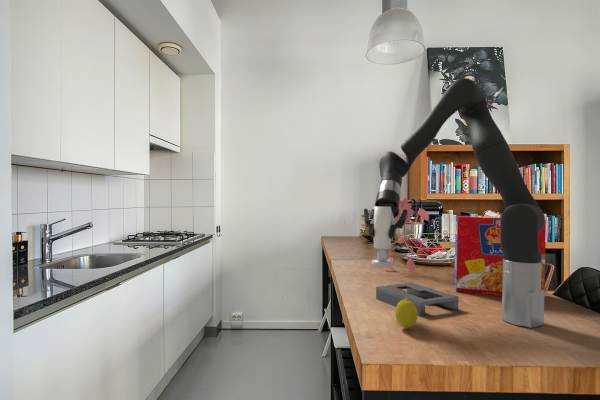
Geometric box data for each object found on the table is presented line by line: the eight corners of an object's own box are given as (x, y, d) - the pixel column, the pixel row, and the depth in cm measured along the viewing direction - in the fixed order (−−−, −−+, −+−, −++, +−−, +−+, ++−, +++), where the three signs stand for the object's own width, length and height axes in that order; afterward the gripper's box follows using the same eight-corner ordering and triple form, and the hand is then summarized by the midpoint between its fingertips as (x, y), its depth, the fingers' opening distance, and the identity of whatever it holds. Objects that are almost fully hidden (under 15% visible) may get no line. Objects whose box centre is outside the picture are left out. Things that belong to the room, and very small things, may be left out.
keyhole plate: (458, 309, 110) (458, 296, 110) (420, 316, 103) (420, 302, 103) (411, 293, 128) (411, 282, 128) (376, 298, 121) (376, 286, 121)
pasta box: (456, 292, 132) (457, 216, 132) (454, 287, 139) (455, 216, 139) (544, 300, 123) (545, 219, 123) (537, 294, 131) (538, 218, 131)
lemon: (400, 323, 97) (401, 294, 97) (420, 328, 93) (421, 298, 93) (391, 329, 93) (392, 298, 93) (412, 334, 89) (412, 302, 89)
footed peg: (396, 266, 107) (397, 207, 107) (380, 268, 104) (381, 206, 104) (383, 263, 112) (383, 206, 112) (367, 264, 109) (368, 206, 110)
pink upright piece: (375, 267, 177) (376, 197, 177) (429, 273, 165) (431, 198, 164) (365, 273, 164) (367, 197, 163) (424, 280, 152) (426, 198, 151)
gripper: (365, 188, 118) (355, 227, 107) (410, 188, 112) (404, 229, 101) (368, 204, 123) (359, 243, 112) (411, 205, 117) (406, 245, 106)
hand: (381, 236), depth 106 cm, fingers closed on footed peg, 5 cm apart
